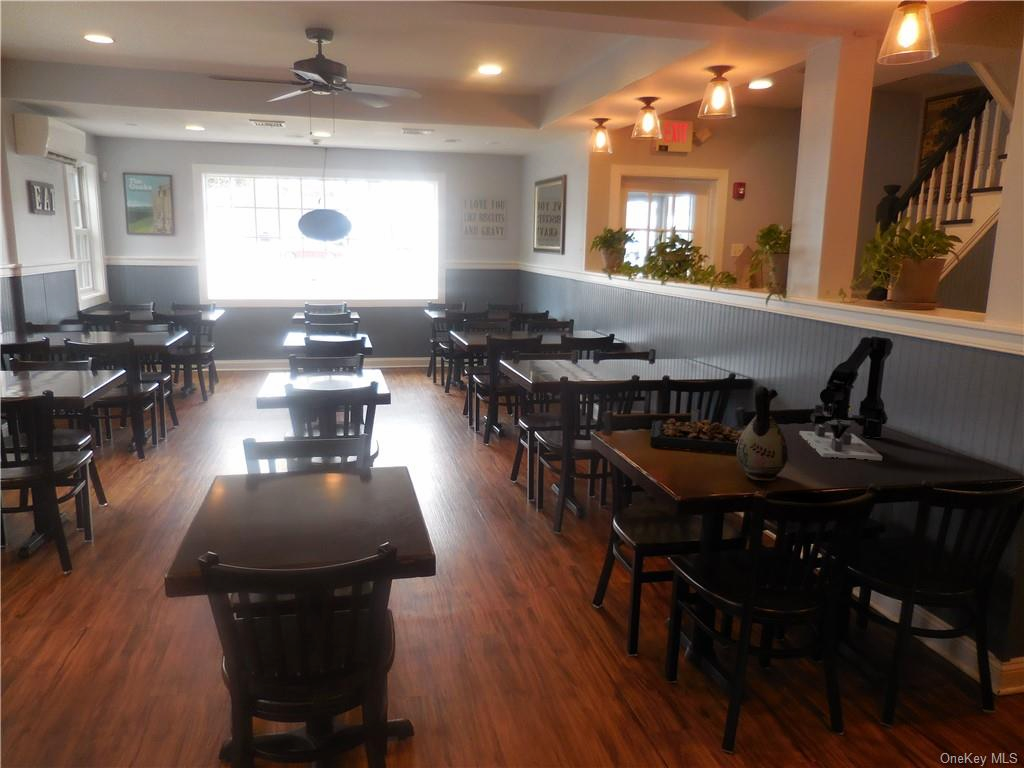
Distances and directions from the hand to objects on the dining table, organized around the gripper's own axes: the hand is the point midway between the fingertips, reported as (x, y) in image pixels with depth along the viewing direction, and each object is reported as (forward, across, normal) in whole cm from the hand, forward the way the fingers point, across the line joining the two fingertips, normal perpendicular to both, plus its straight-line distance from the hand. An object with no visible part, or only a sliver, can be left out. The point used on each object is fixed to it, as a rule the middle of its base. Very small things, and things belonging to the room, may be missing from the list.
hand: (836, 441), depth 267 cm
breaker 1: (0, +3, -10) cm, 10 cm away
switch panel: (+2, -1, 0) cm, 2 cm away
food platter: (+3, +46, +6) cm, 46 cm away
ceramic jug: (+2, +37, +43) cm, 57 cm away
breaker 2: (0, +3, +10) cm, 11 cm away
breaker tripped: (0, -3, 0) cm, 3 cm away
